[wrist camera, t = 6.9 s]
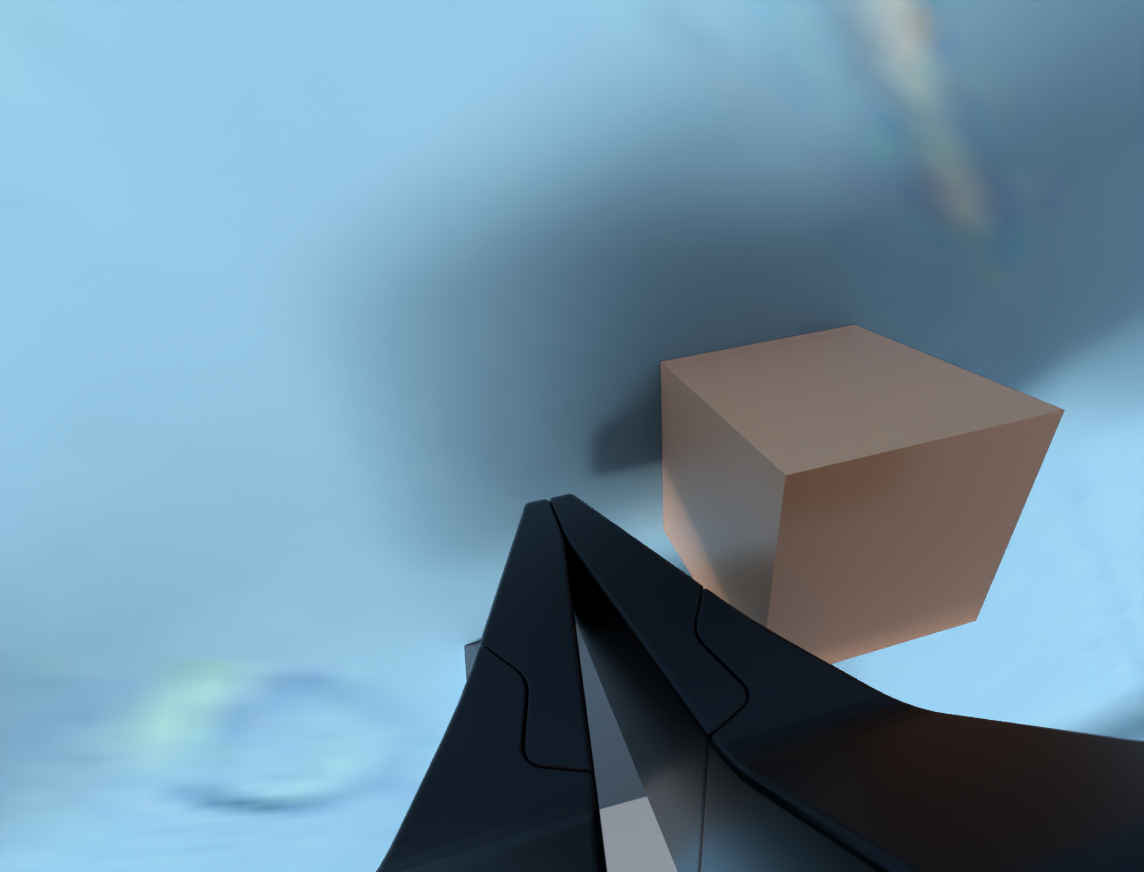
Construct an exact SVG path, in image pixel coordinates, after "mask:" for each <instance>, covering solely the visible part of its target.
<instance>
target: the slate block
mask: <svg viewBox="0 0 1144 872" xmlns="http://www.w3.org/2000/svg"><path fill="white" fill-rule="evenodd" d="M576 630H577V638H578V645H579V653H580V661H581V669H582V677H583V684H584V692H585V700H586V708H587V716H588V723H589V731H590V739H591V747H592V754H593V762H594V770H595V778H596V786H597V793H598V801H599V809H600V817H601V825H602V832H603V840H604V848H605V856H606V863H607V871H608V872H677V869H676V867H675V864H674V862H673V859H672V857H671V854H670V852H669V849H668V847H667V844H666V842H665V840H664V837H663V835H662V832H661V830H660V827H659V825H658V822H657V820H656V817H655V815H654V812H653V810H652V808H651V805H650V803H649V800H648V798H647V795H646V793H645V790H644V788H643V785H642V783H641V780H640V778H639V776H638V773H637V771H636V768H635V766H634V763H633V761H632V758H631V756H630V753H629V751H628V748H627V746H626V743H625V741H624V739H623V736H622V734H621V731H620V729H619V726H618V724H617V721H616V719H615V716H614V714H613V711H612V709H611V707H610V704H609V702H608V699H607V697H606V694H605V692H604V689H603V687H602V684H601V682H600V679H599V677H598V675H597V672H596V670H595V667H594V665H593V662H592V660H591V657H590V655H589V652H588V650H587V647H586V645H585V642H584V640H583V638H582V635H581V633H580V630H579V627H578V624H577V623H576ZM479 647H480V643H476V644H471V645H466V646H464V649H465V664H466V679H468V676H469V673H470V670H471V668H472V665H473V662H474V658H475V655H476V652H477V649H478V648H479Z"/></svg>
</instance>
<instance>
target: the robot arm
mask: <svg viewBox="0 0 1144 872" xmlns="http://www.w3.org/2000/svg"><path fill="white" fill-rule="evenodd" d="M575 619H576V622H577V624H578V627H579V630H580V633H581V635H582V638H583V640H584V642H585V645H586V647H587V650H588V652H589V655H590V657H591V660H592V662H593V665H594V667H595V670H596V672H597V675H598V677H599V679H600V682H601V684H602V687H603V689H604V692H605V694H606V697H607V699H608V702H609V704H610V707H611V709H612V711H613V714H614V716H615V719H616V721H617V724H618V726H619V729H620V731H621V734H622V736H623V739H624V741H625V743H626V746H627V748H628V751H629V753H630V756H631V758H632V761H633V763H634V766H635V768H636V771H637V773H638V776H639V778H640V780H641V783H642V785H643V788H644V790H645V793H646V795H647V798H648V800H649V803H650V805H651V808H652V810H653V812H654V815H655V817H656V820H657V822H658V825H659V827H660V830H661V832H662V835H663V837H664V840H665V842H666V844H667V847H668V849H669V852H670V854H671V857H672V859H673V862H674V864H675V867H676V869H677V872H1144V741H1141V740H1132V739H1125V738H1118V737H1111V736H1103V735H1096V734H1089V733H1082V732H1075V731H1067V730H1060V729H1053V728H1046V727H1039V726H1031V725H1024V724H1017V723H1010V722H1003V721H996V720H988V719H981V718H974V717H967V716H960V715H952V714H945V713H940V712H934V711H930V710H926V709H922V708H918V707H916V706H913V705H910V704H907V703H904V702H902V701H899V700H897V699H895V698H892V697H890V696H888V695H886V694H884V693H882V692H880V691H878V690H876V689H874V688H872V687H870V686H868V685H867V684H865V683H863V682H861V681H859V680H858V679H856V678H854V677H852V676H851V675H849V674H847V673H845V672H843V671H842V670H840V669H838V668H836V667H835V666H833V665H831V664H829V663H827V662H826V661H824V660H822V659H820V658H819V657H817V656H815V655H813V654H811V653H810V652H808V651H806V650H804V649H803V648H801V647H799V646H797V645H795V644H794V643H792V642H790V641H788V640H787V639H785V638H783V637H781V636H780V635H778V634H776V633H775V632H773V631H771V630H770V629H768V628H766V627H765V626H763V625H761V624H760V623H758V622H756V621H755V620H753V619H751V618H750V617H748V616H747V615H745V614H744V613H742V612H741V611H739V610H738V609H736V608H735V607H733V606H732V605H730V604H729V603H727V602H726V601H724V600H723V599H721V598H720V597H718V596H717V595H716V594H714V593H713V592H711V591H710V590H708V589H706V588H705V589H704V588H703V586H702V585H701V584H700V583H698V582H697V581H695V580H694V579H692V578H691V577H690V576H688V575H687V574H685V573H684V572H683V571H681V570H680V569H678V568H677V567H675V566H674V565H673V564H671V563H670V562H668V561H667V560H665V559H664V558H663V557H661V556H660V555H658V554H657V553H656V552H654V551H653V550H651V549H650V548H648V547H647V546H646V545H644V544H643V543H641V542H640V541H638V540H637V539H636V538H634V537H633V536H631V535H630V534H628V533H627V532H626V531H624V530H623V529H621V528H620V527H619V526H617V525H616V524H614V523H613V522H611V521H610V520H609V519H607V518H606V517H604V516H603V515H601V514H600V513H599V512H597V511H596V510H594V509H593V508H592V507H590V506H589V505H587V504H586V503H584V502H583V501H582V500H580V499H579V498H577V497H576V496H574V495H573V494H566V495H562V496H557V497H553V498H551V499H550V502H549V501H548V500H546V499H543V500H539V501H534V502H529V503H527V504H526V505H525V507H524V510H523V513H522V516H521V519H520V522H519V525H518V528H517V531H516V534H515V537H514V540H513V543H512V546H511V549H510V552H509V555H508V559H507V562H506V565H505V568H504V571H503V574H502V577H501V580H500V583H499V586H498V589H497V592H496V595H495V598H494V601H493V604H492V607H491V610H490V613H489V617H488V620H487V623H486V626H485V629H484V632H483V635H482V638H481V641H480V647H479V648H478V649H477V652H476V655H475V658H474V662H473V665H472V668H471V670H470V673H469V676H468V679H467V681H466V684H465V687H464V689H463V692H462V695H461V698H460V700H459V703H458V705H457V707H456V709H455V712H454V714H453V716H452V718H451V721H450V723H449V725H448V727H447V730H446V732H445V734H444V736H443V738H442V741H441V743H440V745H439V747H438V749H437V751H436V753H435V755H434V757H433V759H432V761H431V764H430V766H429V768H428V770H427V772H426V774H425V776H424V778H423V780H422V782H421V785H420V787H419V789H418V791H417V793H416V795H415V797H414V799H413V801H412V803H411V805H410V808H409V810H408V812H407V814H406V816H405V818H404V820H403V822H402V824H401V826H400V829H399V831H398V833H397V835H396V837H395V839H394V841H393V843H392V845H391V847H390V849H389V851H388V852H387V854H386V856H385V858H384V859H383V861H382V863H381V865H380V866H379V868H378V869H377V871H376V872H608V871H607V863H606V856H605V848H604V840H603V832H602V825H601V817H600V809H599V801H598V793H597V786H596V778H595V770H594V762H593V754H592V747H591V739H590V731H589V723H588V716H587V708H586V700H585V692H584V684H583V677H582V669H581V661H580V653H579V645H578V638H577V630H576V622H575Z"/></svg>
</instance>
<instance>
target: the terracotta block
mask: <svg viewBox="0 0 1144 872" xmlns="http://www.w3.org/2000/svg"><path fill="white" fill-rule="evenodd" d="M661 405H662V465H663V526H664V531H665V533H666V535H667V536H668V538H669V540H670V541H671V543H672V545H673V546H674V548H675V549H676V551H677V553H678V554H679V556H680V558H681V559H682V561H683V562H684V564H685V566H686V567H687V569H688V571H689V572H690V574H691V576H692V577H693V579H694V580H695V581H697V582H698V583H700V584H701V585H702V586H703V588H704V589H705V588H706V589H708V590H710V591H711V592H713V593H714V594H716V595H717V596H718V597H720V598H721V599H723V600H724V601H726V602H727V603H729V604H730V605H732V606H733V607H735V608H736V609H738V610H739V611H741V612H742V613H744V614H745V615H747V616H748V617H750V618H751V619H753V620H755V621H756V622H758V623H760V624H761V625H763V626H765V627H766V628H768V629H770V630H771V631H773V632H775V633H776V634H778V635H780V636H781V637H783V638H785V639H787V640H788V641H790V642H792V643H794V644H795V645H797V646H799V647H801V648H803V649H804V650H806V651H808V652H810V653H811V654H813V655H815V656H817V657H819V658H820V659H822V660H824V661H826V662H827V663H829V664H833V663H836V662H839V661H843V660H846V659H849V658H853V657H856V656H859V655H863V654H866V653H869V652H873V651H876V650H879V649H883V648H886V647H889V646H893V645H896V644H899V643H903V642H906V641H909V640H913V639H916V638H919V637H923V636H926V635H929V634H933V633H936V632H939V631H943V630H946V629H949V628H953V627H956V626H959V625H963V624H966V623H969V622H973V621H976V619H977V617H978V614H979V612H980V610H981V607H982V605H983V603H984V600H985V598H986V595H987V593H988V591H989V588H990V586H991V584H992V581H993V579H994V576H995V574H996V572H997V569H998V567H999V565H1000V562H1001V560H1002V557H1003V555H1004V553H1005V550H1006V548H1007V546H1008V543H1009V541H1010V538H1011V536H1012V534H1013V531H1014V529H1015V527H1016V524H1017V522H1018V519H1019V517H1020V515H1021V512H1022V510H1023V508H1024V505H1025V503H1026V500H1027V498H1028V496H1029V493H1030V491H1031V489H1032V486H1033V484H1034V481H1035V479H1036V477H1037V474H1038V472H1039V469H1040V467H1041V465H1042V462H1043V460H1044V458H1045V455H1046V453H1047V450H1048V448H1049V446H1050V443H1051V441H1052V439H1053V436H1054V434H1055V431H1056V429H1057V427H1058V424H1059V422H1060V420H1061V417H1062V415H1063V412H1064V409H1061V408H1059V407H1056V406H1054V405H1051V404H1049V403H1046V402H1044V401H1041V400H1039V399H1036V398H1034V397H1032V396H1029V395H1027V394H1024V393H1022V392H1019V391H1017V390H1014V389H1012V388H1009V387H1007V386H1004V385H1002V384H1000V383H997V382H995V381H992V380H990V379H987V378H985V377H982V376H980V375H977V374H975V373H972V372H970V371H967V370H965V369H963V368H960V367H958V366H955V365H953V364H950V363H948V362H945V361H943V360H940V359H938V358H935V357H933V356H931V355H928V354H926V353H923V352H921V351H918V350H916V349H913V348H911V347H908V346H906V345H903V344H901V343H899V342H896V341H894V340H891V339H889V338H886V337H884V336H881V335H879V334H876V333H874V332H871V331H869V330H867V329H864V328H862V327H859V326H857V325H850V326H845V327H839V328H834V329H829V330H824V331H818V332H813V333H808V334H803V335H797V336H792V337H787V338H782V339H776V340H771V341H766V342H760V343H755V344H750V345H745V346H739V347H734V348H729V349H724V350H718V351H713V352H708V353H703V354H697V355H692V356H687V357H681V358H676V359H671V360H666V361H661Z"/></svg>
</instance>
